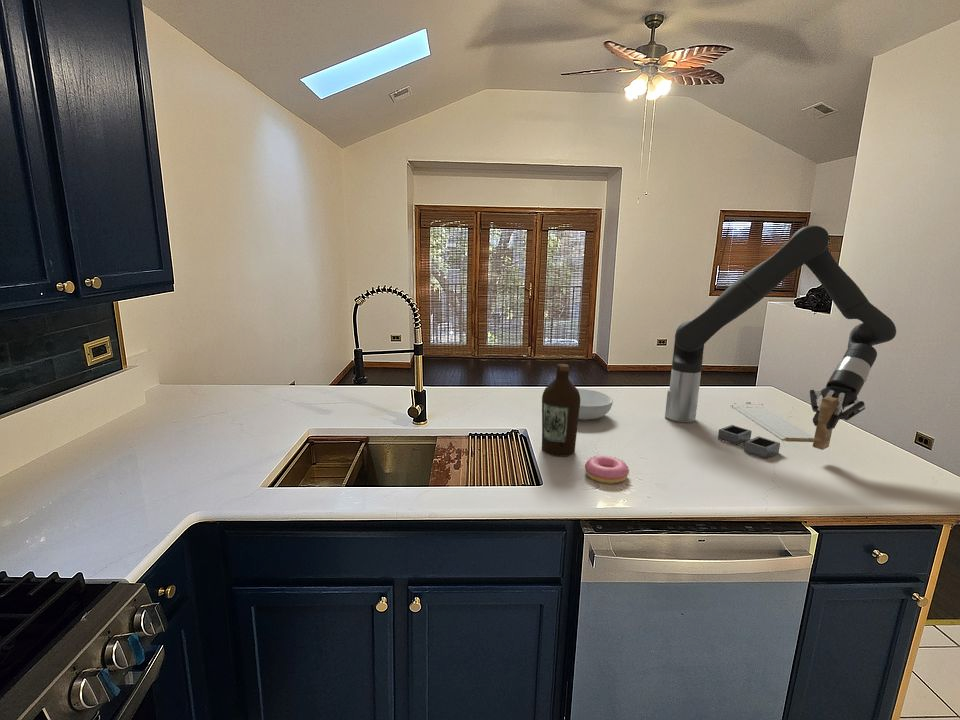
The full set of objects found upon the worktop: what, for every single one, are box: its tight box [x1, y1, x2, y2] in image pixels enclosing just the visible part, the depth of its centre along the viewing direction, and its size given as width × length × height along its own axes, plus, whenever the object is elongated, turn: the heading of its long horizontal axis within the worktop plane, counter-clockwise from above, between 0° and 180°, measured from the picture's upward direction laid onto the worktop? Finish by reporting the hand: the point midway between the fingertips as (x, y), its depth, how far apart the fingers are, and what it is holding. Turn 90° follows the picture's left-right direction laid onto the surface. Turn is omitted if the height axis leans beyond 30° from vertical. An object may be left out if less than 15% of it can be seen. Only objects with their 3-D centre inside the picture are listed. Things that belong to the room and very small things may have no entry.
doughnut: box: [584, 455, 630, 485], centre depth 127 cm, size 11×11×4 cm
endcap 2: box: [743, 435, 781, 460], centre depth 143 cm, size 6×8×3 cm
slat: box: [812, 396, 839, 451], centre depth 136 cm, size 2×4×14 cm, turn 125°
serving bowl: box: [577, 388, 614, 421], centre depth 172 cm, size 21×21×7 cm
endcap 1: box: [717, 424, 752, 446], centre depth 152 cm, size 6×8×3 cm
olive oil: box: [541, 363, 580, 457], centre depth 140 cm, size 11×11×25 cm
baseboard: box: [731, 401, 815, 442], centre depth 168 cm, size 31×3×12 cm
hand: (822, 426), depth 135 cm, fingers closed on slat, 2 cm apart
